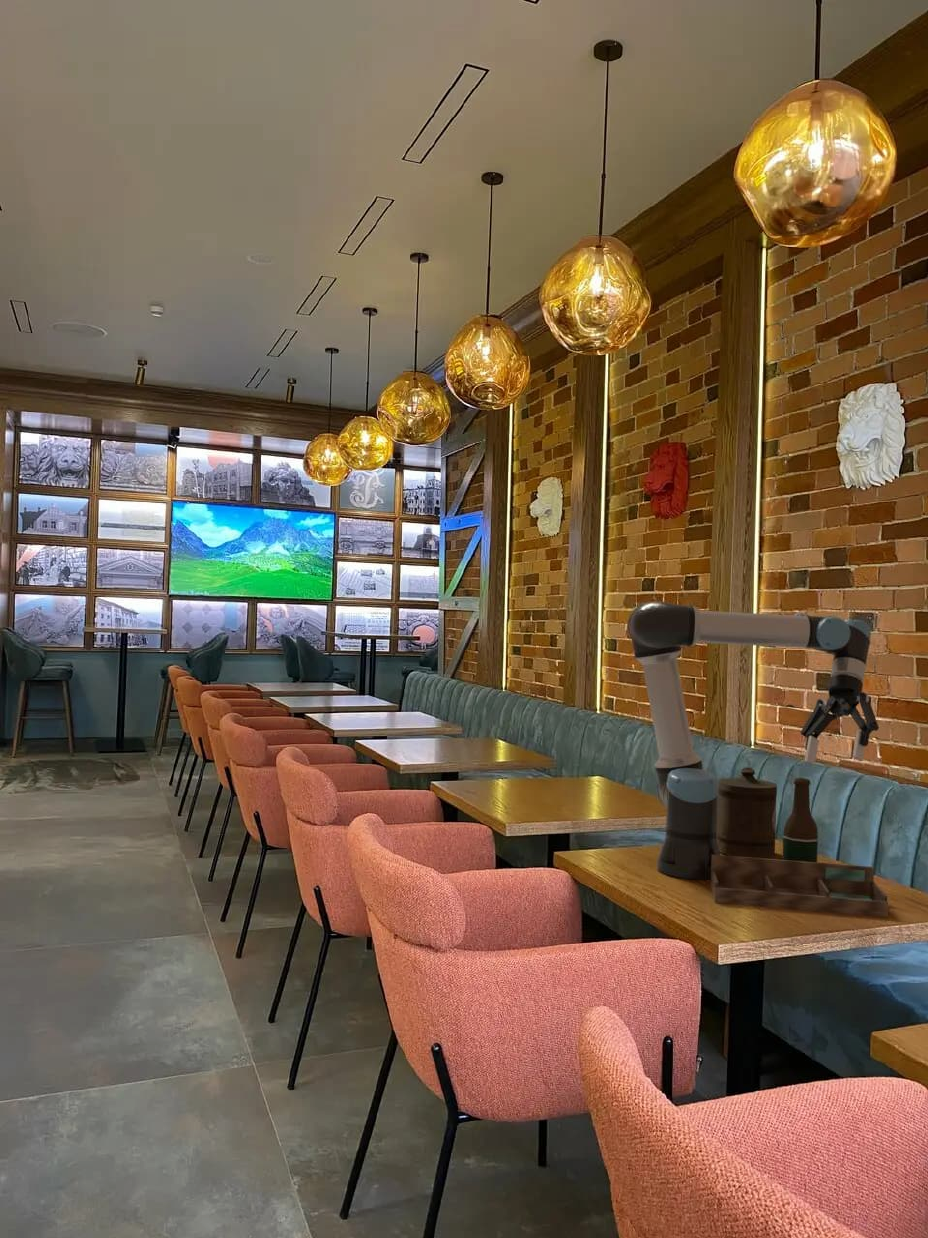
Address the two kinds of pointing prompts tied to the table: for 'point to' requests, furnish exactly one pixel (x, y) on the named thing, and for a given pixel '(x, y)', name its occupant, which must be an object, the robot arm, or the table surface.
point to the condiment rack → (797, 885)
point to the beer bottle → (800, 827)
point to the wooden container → (746, 816)
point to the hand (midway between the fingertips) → (833, 761)
